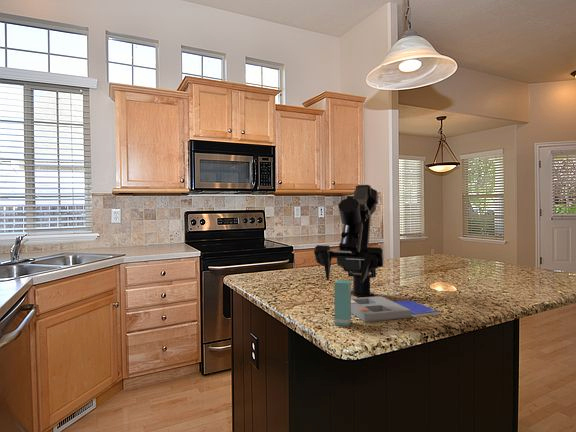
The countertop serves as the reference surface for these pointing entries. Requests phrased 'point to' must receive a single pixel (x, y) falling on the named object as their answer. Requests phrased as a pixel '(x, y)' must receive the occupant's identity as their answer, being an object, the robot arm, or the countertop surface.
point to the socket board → (377, 309)
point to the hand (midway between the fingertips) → (344, 280)
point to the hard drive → (418, 308)
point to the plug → (342, 302)
